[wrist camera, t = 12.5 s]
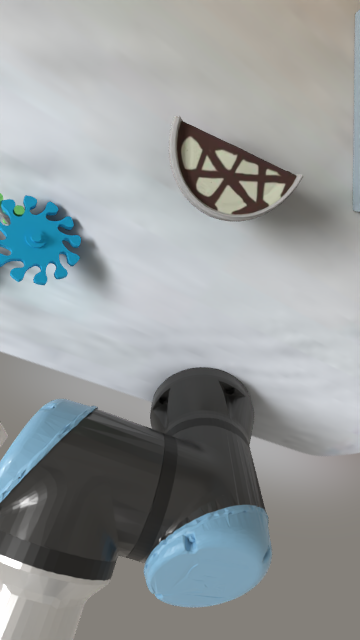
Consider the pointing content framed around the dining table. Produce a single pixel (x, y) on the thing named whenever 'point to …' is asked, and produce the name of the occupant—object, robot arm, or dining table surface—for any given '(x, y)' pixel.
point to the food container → (225, 175)
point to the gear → (35, 239)
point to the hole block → (356, 118)
